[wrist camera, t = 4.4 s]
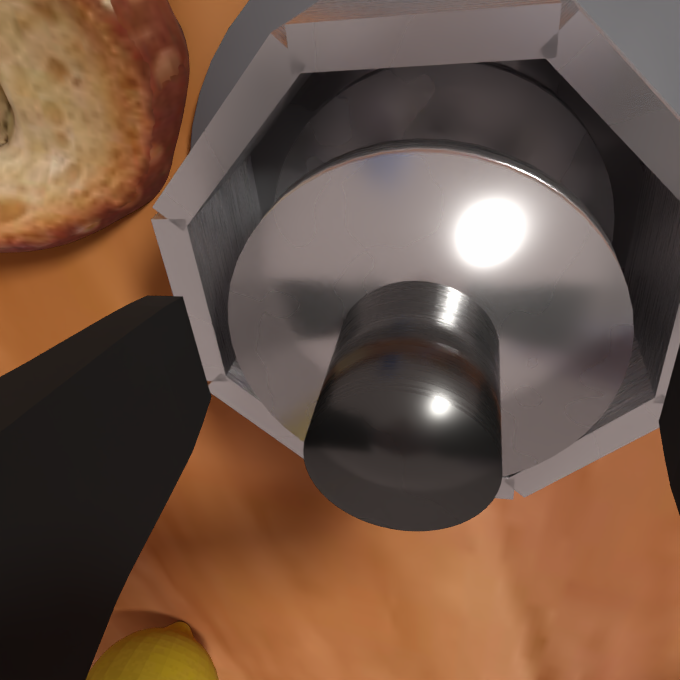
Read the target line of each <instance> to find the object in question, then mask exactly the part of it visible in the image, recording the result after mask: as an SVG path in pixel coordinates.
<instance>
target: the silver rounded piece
mask: <svg viewBox="0 0 680 680" xmlns="http://www.w3.org/2000/svg"><path fill="white" fill-rule="evenodd" d="M614 219H615V218H614V201H613V193H612V189H611V184H610V179H609V175H608V172H607V170H606V167H605V165H604V162H603V160H602V157H601V154H600V152H599V150H598V147H597V145H596V143H595V141H594V139H593V138H592V136H591V134H590V133H589V131H588V129H587V128H586V126H585V124H584V123H583V122H582V120H581V119H580V118H579V117H578V116H577V114H576V113H575V112H574V111H573V109H572V108H571V107H570V106H569V105H568V104H567V103H566V102H565V101H564V100H562V99H561V98H560V97H559V96H558V95H557V94H556V93H555V92H554V91H552V90H551V89H549V88H548V87H546V86H545V85H543V84H542V83H540V82H539V81H537V80H536V79H534V78H533V77H531V76H529V75H527V74H525V73H523V72H520V71H518V70H516V69H514V68H512V67H510V66H507V65H503V64H500V63H496V62H477V63H460V64H444V65H427V66H411V67H394V68H379V69H376V70H374V71H372V72H369V73H367V74H365V75H363V76H361V77H360V78H358V79H356V80H355V81H353V82H352V83H350V84H348V85H347V86H345V87H344V88H342V89H341V90H340V91H339V92H337V93H336V94H335V95H334V96H333V97H331V98H330V99H329V100H328V101H327V102H326V103H325V104H324V105H323V106H322V107H321V108H320V109H319V110H318V111H317V112H316V114H315V115H314V116H313V117H312V118H311V119H310V121H309V122H308V123H307V125H306V126H305V127H304V129H303V130H302V132H301V133H300V135H299V136H298V138H297V139H296V140H295V142H294V143H293V145H292V147H291V149H290V151H289V153H288V155H287V157H286V160H285V162H284V164H283V167H282V170H281V173H280V176H279V179H278V183H277V188H276V194H275V200H274V203H273V204H272V205H271V207H270V208H269V210H268V211H267V212H266V214H265V215H264V217H263V218H262V220H261V221H260V222H259V224H258V225H257V227H256V228H255V230H254V231H253V233H252V234H251V236H250V237H249V238H248V240H247V242H246V244H245V246H244V248H243V250H242V252H241V254H240V256H239V258H238V260H237V263H236V266H235V269H234V273H233V276H232V279H231V284H230V291H229V298H228V324H229V330H230V336H231V342H232V346H233V349H234V352H235V355H236V358H237V361H238V364H239V366H240V368H241V370H242V372H243V374H244V376H245V378H246V380H247V382H248V384H249V385H250V387H251V388H252V390H253V391H254V393H255V395H256V396H257V398H258V399H259V400H260V401H261V402H262V404H263V405H264V406H265V407H266V409H267V410H268V411H269V412H270V413H271V414H272V415H273V416H274V417H275V418H276V419H277V420H278V421H279V422H280V423H281V424H282V425H283V426H284V427H285V428H286V429H287V430H289V431H290V432H291V433H292V434H294V435H295V436H296V437H297V438H299V439H300V440H301V441H303V442H304V447H303V455H304V462H305V466H306V469H307V471H308V474H309V476H310V478H311V479H312V481H313V483H314V484H315V486H316V487H317V488H318V489H319V490H320V492H321V493H322V494H323V495H324V496H325V497H326V498H327V499H328V500H329V501H331V502H332V503H333V504H335V505H336V506H337V507H338V508H340V509H342V510H343V511H345V512H346V513H348V514H350V515H352V516H354V517H356V518H358V519H360V520H363V521H365V522H368V523H371V524H374V525H377V526H381V527H385V528H390V529H396V530H403V531H431V530H439V529H444V528H448V527H452V526H455V525H458V524H461V523H463V522H465V521H468V520H470V519H471V518H473V517H475V516H476V515H478V514H479V513H481V512H482V511H483V510H484V509H485V508H487V507H488V505H489V504H490V503H491V502H492V501H493V499H494V498H495V496H496V495H497V493H498V490H499V488H500V485H501V481H502V477H504V476H508V475H511V474H514V473H517V472H520V471H523V470H525V469H528V468H531V467H533V466H535V465H537V464H539V463H541V462H544V461H546V460H548V459H550V458H552V457H553V456H555V455H556V454H558V453H560V452H561V451H563V450H564V449H566V448H568V447H569V446H570V445H572V444H573V443H574V442H575V441H577V440H578V439H579V438H580V437H582V436H583V435H584V434H585V433H587V431H588V430H589V429H590V428H591V427H592V426H593V425H594V424H595V423H596V422H597V421H598V420H599V419H600V418H601V417H602V415H603V414H604V412H605V411H606V410H607V408H608V407H609V405H610V404H611V403H612V401H613V400H614V398H615V396H616V394H617V392H618V390H619V388H620V386H621V384H622V382H623V380H624V378H625V375H626V372H627V368H628V365H629V362H630V359H631V353H632V345H633V338H634V325H633V309H632V305H631V300H630V296H629V291H628V287H627V284H626V281H625V278H624V275H623V272H622V269H621V267H620V264H619V261H618V259H617V257H616V254H615V252H614V249H613V247H612V240H613V229H614Z"/></svg>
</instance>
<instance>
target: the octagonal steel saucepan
mask: <svg viewBox="0 0 680 680" xmlns="http://www.w3.org/2000/svg"><path fill="white" fill-rule="evenodd" d="M477 62H496V63H500V64H503V65H507V66H510V67H512V68H514V69H516V70H518V71H520V72H523V73H525V74H527V75H529V76H531V77H533V78H534V79H536V80H537V81H539V82H540V83H542V84H543V85H545V86H546V87H548V88H549V89H551V90H552V91H554V92H555V93H556V94H557V95H558V96H559V97H560V98H561V99H562V100H564V101H565V102H566V103H567V104H568V105H569V106H570V107H571V108H572V109H573V111H574V112H575V113H576V114H577V116H578V117H579V118H580V119H581V120H582V122H583V123H584V124H585V126H586V128H587V129H588V131H589V133H590V134H591V136H592V138H593V139H594V141H595V143H596V145H597V147H598V150H599V152H600V154H601V157H602V160H603V162H604V165H605V167H606V170H607V172H608V175H609V179H610V184H611V189H612V193H613V201H614V218H615V219H614V229H613V240H612V247H613V249H614V252H615V254H616V257H617V259H618V261H619V264H620V267H621V269H622V272H623V275H624V278H625V281H626V284H627V287H628V291H629V296H630V300H631V305H632V309H633V325H634V338H633V345H632V353H631V359H630V362H629V365H628V368H627V372H626V375H625V378H624V380H623V382H622V384H621V386H620V388H619V390H618V392H617V394H616V396H615V398H614V400H613V401H612V403H611V404H610V405H609V407H608V408H607V410H606V411H605V412H604V414H603V415H602V417H601V418H600V419H599V420H598V421H597V422H596V423H595V424H594V425H593V426H592V427H591V428H590V429H589V430H588V431H587V433H585V434H584V435H583V436H582V437H580V438H579V439H578V440H577V441H575V442H574V443H573V444H572V445H570V446H569V447H568V448H566V449H564V450H563V451H561V452H560V453H558V454H556V455H555V456H553V457H552V458H550V459H548V460H546V461H544V462H541V463H539V464H537V465H535V466H533V467H531V468H528V469H525V470H523V471H520V472H517V473H514V474H511V475H508V476H504V477H502V481H501V485H500V488H499V490H498V493H497V495H496V496H495V498H501V499H513V496H514V490H515V491H517V492H518V493H519V494H520V495H522V496H523V497H526V496H528V495H530V494H532V493H534V492H536V491H538V490H540V489H542V488H544V487H546V486H547V485H549V484H551V483H553V482H555V481H557V480H559V479H561V478H563V477H565V476H567V475H569V474H571V473H572V472H574V471H576V470H578V469H580V468H582V467H584V466H586V465H588V464H590V463H592V462H594V461H596V460H597V459H599V458H601V457H603V456H605V455H607V454H609V453H611V452H613V451H615V450H617V449H619V448H621V447H623V446H624V445H626V444H628V443H630V442H632V441H634V440H636V439H638V438H640V437H642V436H644V435H646V434H648V433H649V432H651V431H653V430H655V429H657V428H659V418H660V415H661V411H662V407H663V404H664V400H665V396H666V393H667V389H668V385H669V382H670V378H671V374H672V371H673V367H674V363H675V359H676V356H677V352H678V348H679V345H680V116H679V115H678V113H677V112H676V111H675V110H674V109H673V108H672V107H671V106H670V105H669V103H668V102H667V101H666V100H665V99H664V98H663V97H662V96H661V94H660V93H659V92H658V91H657V90H656V89H655V88H654V87H653V85H652V84H651V83H650V82H649V81H648V80H647V79H646V78H645V77H644V75H643V74H642V73H641V72H640V71H639V70H638V69H637V68H636V66H635V65H634V64H633V63H632V62H631V61H630V60H629V59H628V57H627V56H626V55H625V54H624V53H623V52H622V51H621V50H620V49H619V47H618V46H617V45H616V44H615V43H614V42H613V41H612V40H611V38H610V37H609V36H608V35H607V34H606V33H605V32H604V31H603V29H602V28H601V27H600V26H599V25H598V24H597V23H596V22H595V21H594V19H593V18H592V17H591V16H590V15H589V14H588V13H587V12H586V10H585V9H584V8H583V7H582V6H581V5H580V4H579V3H578V1H577V0H319V1H317V2H316V3H314V4H313V5H311V6H310V7H308V8H307V9H305V10H304V11H302V12H301V13H299V14H298V15H296V16H295V17H293V18H292V19H290V20H289V21H288V22H286V23H285V24H283V25H282V26H280V27H279V28H277V29H276V30H274V31H273V32H271V33H270V34H269V36H268V37H267V39H266V40H265V42H264V43H263V45H262V46H261V48H260V49H259V51H258V52H257V54H256V55H255V57H254V58H253V60H252V61H251V62H250V64H249V65H248V67H247V68H246V70H245V71H244V73H243V74H242V76H241V77H240V79H239V80H238V82H237V83H236V85H235V86H234V88H233V89H232V91H231V92H230V94H229V95H228V96H227V98H226V99H225V101H224V102H223V104H222V105H221V107H220V108H219V110H218V111H217V113H216V114H215V116H214V117H213V119H212V120H211V122H210V123H209V125H208V126H207V127H206V129H205V130H204V132H203V133H202V135H201V136H200V138H199V139H198V141H197V142H196V144H195V145H194V147H193V148H192V150H191V151H190V153H189V154H188V156H187V157H186V158H185V160H184V161H183V163H182V164H181V166H180V167H179V169H178V170H177V172H176V173H175V175H174V176H173V178H172V179H171V181H170V182H169V184H168V185H167V187H166V188H165V190H164V191H163V192H162V194H161V195H160V197H159V198H158V200H157V201H156V203H155V204H154V206H153V208H154V209H155V210H156V211H158V213H157V214H156V215H155V216H154V217H153V218H152V219H151V221H152V224H153V228H154V231H155V235H156V238H157V241H158V245H159V248H160V251H161V255H162V258H163V262H164V265H165V268H166V272H167V275H168V279H169V282H170V285H171V289H172V292H173V296H183V299H184V302H185V306H186V309H187V313H188V316H189V320H190V323H191V327H192V330H193V334H194V337H195V341H196V345H197V348H198V352H199V355H200V359H201V362H202V366H203V369H204V373H205V376H206V380H207V381H209V383H208V387H209V390H210V393H211V394H213V395H214V396H216V397H217V398H219V399H220V400H221V401H223V402H224V403H226V404H227V405H228V406H230V407H231V408H233V409H234V410H235V411H237V412H238V413H240V414H241V415H243V416H244V417H245V418H247V419H248V420H250V421H251V422H252V423H254V424H255V425H257V426H258V427H259V428H261V429H262V430H264V431H265V432H267V433H268V434H269V435H271V436H272V437H274V438H275V439H276V440H278V441H279V442H281V443H282V444H283V445H285V446H286V447H288V448H289V449H291V450H292V451H293V452H295V453H296V454H298V455H299V456H300V457H302V458H303V459H304V455H303V447H304V442H303V441H301V440H300V439H299V438H297V437H296V436H295V435H294V434H292V433H291V432H290V431H289V430H287V429H286V428H285V427H284V426H283V425H282V424H281V423H280V422H279V421H278V420H277V419H276V418H275V417H274V416H273V415H272V414H271V413H270V412H269V411H268V410H267V409H266V407H265V406H264V405H263V404H262V402H261V401H260V400H259V399H258V398H257V396H256V395H255V393H254V391H253V390H252V388H251V387H250V385H249V384H248V382H247V380H246V378H245V376H244V374H243V372H242V370H241V368H240V366H239V364H238V361H237V358H236V355H235V352H234V349H233V346H232V342H231V336H230V330H229V324H228V298H229V291H230V284H231V279H232V276H233V273H234V269H235V266H236V263H237V260H238V258H239V256H240V254H241V252H242V250H243V248H244V246H245V244H246V242H247V240H248V238H249V237H250V236H251V234H252V233H253V231H254V230H255V228H256V227H257V225H258V224H259V222H260V221H261V220H262V218H263V217H264V215H265V214H266V212H267V211H268V210H269V208H270V207H271V205H272V204H273V203H274V200H275V194H276V188H277V183H278V179H279V176H280V173H281V170H282V167H283V164H284V162H285V160H286V157H287V155H288V153H289V151H290V149H291V147H292V145H293V143H294V142H295V140H296V139H297V138H298V136H299V135H300V133H301V132H302V130H303V129H304V127H305V126H306V125H307V123H308V122H309V121H310V119H311V118H312V117H313V116H314V115H315V114H316V112H317V111H318V110H319V109H320V108H321V107H322V106H323V105H324V104H325V103H326V102H327V101H328V100H329V99H330V98H331V97H333V96H334V95H335V94H336V93H337V92H339V91H340V90H341V89H342V88H344V87H345V86H347V85H348V84H350V83H352V82H353V81H355V80H356V79H358V78H360V77H361V76H363V75H365V74H367V73H369V72H372V71H374V70H376V69H379V68H394V67H411V66H427V65H444V64H460V63H477Z"/></svg>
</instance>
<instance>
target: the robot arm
mask: <svg viewBox="0 0 680 680" xmlns="http://www.w3.org/2000/svg"><path fill="white" fill-rule="evenodd" d="M210 399H211V394H210V390H209V387H208V383H207V380H206V376H205V373H204V369H203V366H202V362H201V359H200V355H199V352H198V348H197V345H196V341H195V337H194V334H193V330H192V327H191V323H190V320H189V316H188V313H187V309H186V306H185V302H184V299H183V296H146V297H143V298H141V299H139V300H136V301H134V302H132V303H130V304H128V305H126V306H124V307H122V308H121V309H119V310H117V311H115V312H113V313H111V314H110V315H108V316H106V317H104V318H102V319H101V320H99V321H97V322H95V323H94V324H92V325H90V326H89V327H87V328H85V329H83V330H82V331H80V332H78V333H77V334H75V335H73V336H71V337H70V338H68V339H66V340H64V341H63V342H61V343H59V344H58V345H56V346H54V347H52V348H51V349H49V350H47V351H46V352H44V353H42V354H40V355H39V356H37V357H35V358H34V359H32V360H30V361H28V362H27V363H25V364H23V365H21V366H19V367H18V368H16V369H14V370H12V371H10V372H8V373H7V374H5V375H3V376H1V377H0V680H86V678H87V675H88V672H89V670H90V667H91V664H92V662H93V659H94V657H95V654H96V652H97V649H98V647H99V644H100V642H101V639H102V637H103V634H104V632H105V629H106V627H107V624H108V622H109V619H110V616H111V614H112V611H113V609H114V606H115V604H116V602H117V599H118V597H119V595H120V593H121V591H122V589H123V587H124V585H125V582H126V580H127V578H128V576H129V574H130V572H131V570H132V568H133V566H134V564H135V562H136V560H137V558H138V557H139V555H140V553H141V551H142V549H143V547H144V545H145V543H146V541H147V539H148V537H149V535H150V533H151V532H152V530H153V528H154V526H155V524H156V522H157V520H158V518H159V516H160V514H161V512H162V510H163V509H164V507H165V505H166V503H167V501H168V499H169V497H170V495H171V493H172V491H173V489H174V487H175V485H176V483H177V481H178V479H179V477H180V476H181V474H182V472H183V470H184V468H185V466H186V464H187V462H188V460H189V458H190V455H191V453H192V451H193V449H194V446H195V443H196V441H197V438H198V435H199V433H200V430H201V427H202V424H203V421H204V418H205V415H206V412H207V409H208V406H209V403H210ZM659 427H660V433H661V439H662V445H663V451H664V456H665V462H666V466H667V471H668V476H669V481H670V486H671V490H672V493H673V496H674V499H675V502H676V505H677V508H678V511H679V514H680V345H679V348H678V352H677V356H676V359H675V363H674V367H673V371H672V374H671V378H670V382H669V385H668V389H667V393H666V396H665V400H664V404H663V407H662V411H661V415H660V418H659Z"/></svg>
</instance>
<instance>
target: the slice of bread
mask: <svg viewBox="0 0 680 680" xmlns="http://www.w3.org/2000/svg"><path fill="white" fill-rule="evenodd" d="M188 82H189V54H188V49H187V44H186V40H185V37H184V34H183V31H182V28H181V26H180V24H179V22H178V20H177V19H176V17H175V15H174V13H173V11H172V9H171V7H170V5H169V2H168V0H0V253H11V252H27V251H36V250H42V249H47V248H52V247H57V246H61V245H65V244H68V243H71V242H74V241H76V240H79V239H81V238H84V237H86V236H88V235H90V234H93V233H95V232H97V231H99V230H101V229H103V228H105V227H107V226H108V225H110V224H112V223H114V222H116V221H117V220H119V219H121V218H123V217H124V216H126V215H128V214H130V213H132V212H133V211H135V210H137V209H138V208H140V207H142V206H143V205H145V204H146V203H148V202H149V201H151V200H152V199H153V198H154V197H155V196H156V195H157V194H158V193H159V192H160V190H161V189H162V187H163V186H164V184H165V182H166V180H167V178H168V175H169V172H170V169H171V165H172V160H173V155H174V151H175V147H176V143H177V139H178V135H179V131H180V126H181V123H182V118H183V113H184V108H185V102H186V96H187V89H188Z"/></svg>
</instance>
